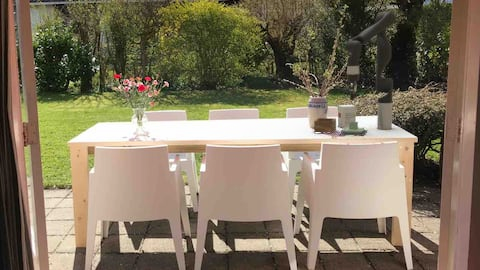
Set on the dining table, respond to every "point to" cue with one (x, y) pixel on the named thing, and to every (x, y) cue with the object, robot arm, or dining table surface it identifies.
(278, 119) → the dining table surface
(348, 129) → the lid
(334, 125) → the walnut box
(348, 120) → the supplement box
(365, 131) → the rubber mat
